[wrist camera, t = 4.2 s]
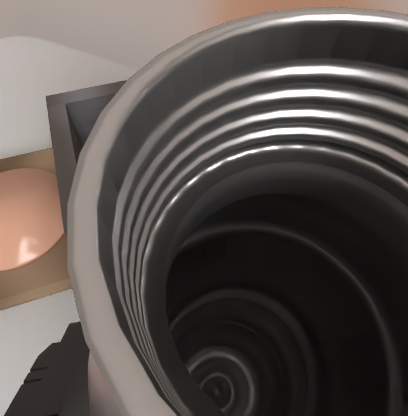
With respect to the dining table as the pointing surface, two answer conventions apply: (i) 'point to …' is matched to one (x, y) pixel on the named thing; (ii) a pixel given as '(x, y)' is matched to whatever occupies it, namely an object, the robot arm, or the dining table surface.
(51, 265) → the wooden organizer tray
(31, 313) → the dining table surface
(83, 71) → the dining table surface
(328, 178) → the plastic bottle
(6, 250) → the terracotta coaster
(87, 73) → the dining table surface
